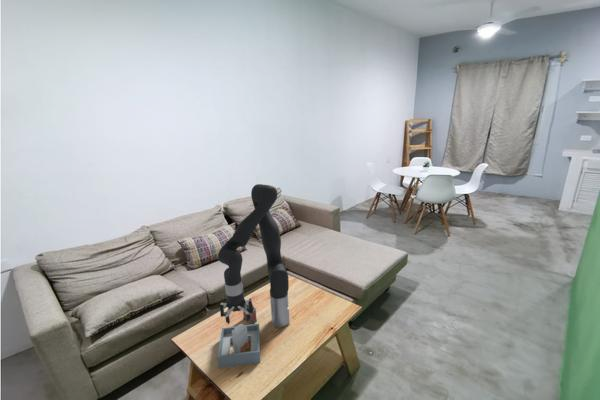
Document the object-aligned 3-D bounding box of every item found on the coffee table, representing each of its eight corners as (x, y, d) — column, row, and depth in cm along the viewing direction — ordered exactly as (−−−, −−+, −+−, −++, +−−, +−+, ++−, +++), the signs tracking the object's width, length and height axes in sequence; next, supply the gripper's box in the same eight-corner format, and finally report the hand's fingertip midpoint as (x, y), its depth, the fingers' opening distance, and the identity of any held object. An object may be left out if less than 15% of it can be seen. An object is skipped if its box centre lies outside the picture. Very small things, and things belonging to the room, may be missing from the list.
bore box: (259, 333, 148) (258, 323, 146) (260, 362, 131) (259, 351, 129) (223, 337, 146) (222, 327, 144) (218, 368, 129) (217, 357, 127)
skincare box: (240, 355, 135) (238, 334, 132) (233, 352, 137) (231, 331, 134) (249, 346, 140) (247, 326, 137) (242, 343, 142) (240, 323, 139)
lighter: (258, 320, 158) (257, 304, 155) (254, 324, 155) (253, 308, 152) (245, 316, 161) (244, 300, 158) (242, 320, 158) (240, 304, 155)
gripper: (250, 283, 133) (254, 313, 138) (218, 287, 131) (223, 317, 136) (250, 293, 126) (254, 324, 131) (216, 297, 124) (221, 329, 129)
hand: (238, 321), depth 134 cm, fingers open, 8 cm apart
